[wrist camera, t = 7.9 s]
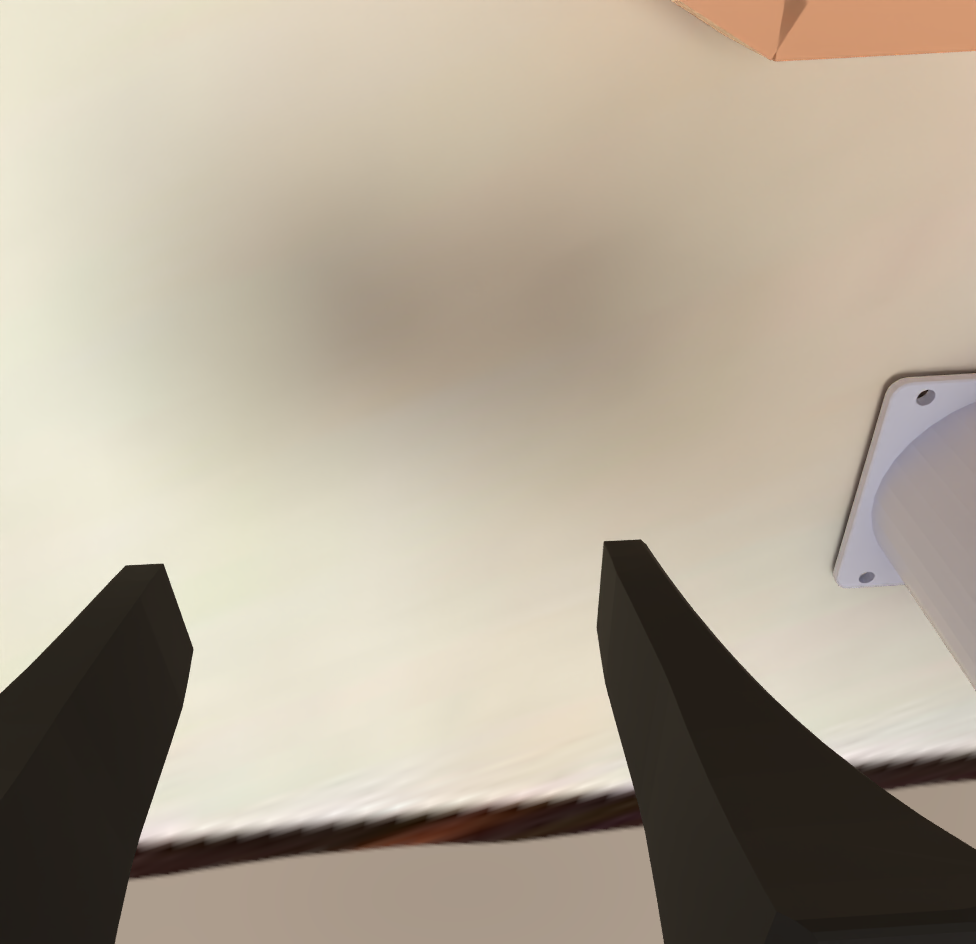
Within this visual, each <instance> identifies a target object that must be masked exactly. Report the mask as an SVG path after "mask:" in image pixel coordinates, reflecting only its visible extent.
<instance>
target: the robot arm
mask: <svg viewBox="0 0 976 944" xmlns="http://www.w3.org/2000/svg"><path fill="white" fill-rule="evenodd" d="M925 390H928V391H927V393H926V394H925V395H924V396H923V397H921V398H917V397H918V395H919V394H920V393H921V392H923V391H925ZM916 398H917V399H916ZM865 572H867V573H865ZM863 573H865V574H863ZM862 574H863V575H862ZM833 577H834V579H835V581H836V582H837V584H838V585H839V586H840V587H842V588H860V587H876V586H891V585H906V586H907V588H908V590H909V591H910V593H911V594H912V596H913V597H914V599H915V600H916V602H917V603H918V605H919V606H920V608H921V609H922V611H923V612H924V614H925V615H926V617H927V618H928V620H929V621H930V623H931V624H932V626H933V627H934V629H935V630H936V632H937V633H938V635H939V636H940V638H941V639H942V641H943V642H944V644H945V645H946V647H947V648H948V650H949V651H950V653H951V654H952V656H953V657H954V659H955V660H956V662H957V663H958V665H959V666H960V668H961V669H962V671H963V672H964V674H965V675H966V677H967V678H968V680H969V681H970V683H971V684H972V686H973V687H974V689H975V690H976V373H970V374H954V375H937V376H920V377H906V378H902V379H899V380H897V381H895V382H894V383H893V384H892V385H891V386H890V387H889V388H888V390H887V391H886V393H885V397H884V400H883V404H882V407H881V410H880V414H879V417H878V421H877V424H876V427H875V431H874V434H873V438H872V441H871V445H870V448H869V451H868V455H867V458H866V462H865V465H864V468H863V472H862V475H861V479H860V482H859V486H858V489H857V492H856V496H855V499H854V503H853V506H852V509H851V513H850V516H849V520H848V523H847V527H846V530H845V533H844V537H843V540H842V544H841V547H840V550H839V554H838V557H837V561H836V564H835V568H834V571H833ZM597 634H598V640H599V647H600V654H601V660H602V667H603V673H604V679H605V684H606V688H607V692H608V696H609V699H610V703H611V707H612V710H613V714H614V718H615V721H616V725H617V729H618V732H619V736H620V739H621V743H622V747H623V750H624V754H625V757H626V761H627V765H628V768H629V772H630V775H631V779H632V783H633V786H634V790H635V793H636V797H637V801H638V804H639V808H640V812H641V817H642V821H643V825H644V830H645V834H646V840H647V845H648V851H649V857H650V862H651V867H652V873H653V879H654V885H655V891H656V896H657V902H658V909H659V914H660V921H661V927H662V933H663V939H664V944H976V849H974V848H972V847H971V846H969V845H968V844H966V843H964V842H963V841H961V840H960V839H958V838H956V837H955V836H953V835H951V834H950V833H948V832H947V831H945V830H943V829H942V828H940V827H939V826H937V825H935V824H934V823H932V822H931V821H929V820H927V819H926V818H924V817H923V816H921V815H920V814H918V813H917V812H915V811H914V810H912V809H911V808H910V807H908V806H907V805H905V804H904V803H902V802H901V801H899V800H898V799H896V798H895V797H894V796H892V795H891V794H889V793H888V792H887V791H885V790H884V789H882V788H881V787H879V786H878V785H877V784H875V783H874V782H873V781H872V780H870V779H869V778H868V777H866V776H865V775H864V774H863V773H861V772H860V771H859V770H857V769H856V768H855V767H854V766H852V765H851V764H850V763H848V762H847V761H846V760H845V759H843V758H842V757H841V756H839V755H838V754H837V753H836V752H834V751H833V750H832V749H830V748H829V747H828V746H827V745H825V744H824V743H823V742H822V741H821V740H820V739H818V738H817V737H816V736H815V735H814V734H813V733H812V732H810V731H809V730H808V729H807V728H806V727H805V726H804V725H802V724H801V723H800V722H799V721H798V720H797V719H796V718H794V717H793V716H792V715H791V714H790V713H789V712H788V711H787V710H786V709H785V708H784V707H783V706H782V705H781V704H779V703H778V702H777V701H776V700H775V699H774V698H773V697H772V696H771V695H770V694H769V693H768V692H767V691H766V690H765V689H764V688H763V687H762V686H761V685H760V684H759V683H758V682H757V681H756V680H755V679H754V678H753V677H752V676H751V675H750V674H749V673H748V672H747V671H746V669H745V668H744V667H743V666H742V665H741V664H740V663H739V662H738V661H737V660H736V659H735V658H734V657H733V655H732V654H731V653H730V652H729V651H728V650H727V649H726V648H725V646H724V645H723V644H722V643H721V642H720V641H719V640H718V639H717V637H716V636H715V635H714V634H713V633H712V631H711V630H710V629H709V628H708V627H707V625H706V624H705V623H704V622H703V620H702V619H701V618H700V617H699V616H698V614H697V613H696V612H695V611H694V610H693V608H692V607H691V606H690V604H689V603H688V602H687V601H686V599H685V598H684V597H683V595H682V594H681V593H680V591H679V590H678V589H677V587H676V586H675V585H674V584H673V582H672V581H671V579H670V578H669V577H668V575H667V574H666V573H665V571H664V570H663V568H662V567H661V565H660V564H659V563H658V561H657V560H656V558H655V557H654V555H653V554H652V552H651V551H650V549H649V548H648V546H647V545H646V544H645V543H644V542H643V541H642V540H623V541H604V546H603V558H602V570H601V582H600V593H599V605H598V617H597ZM192 655H193V646H192V644H191V641H190V638H189V635H188V632H187V629H186V627H185V624H184V621H183V618H182V615H181V612H180V609H179V607H178V604H177V601H176V598H175V595H174V592H173V590H172V587H171V584H170V581H169V578H168V575H167V572H166V570H165V567H164V564H146V565H127V566H125V567H124V568H123V569H122V570H121V571H120V572H119V573H118V574H117V575H116V576H115V577H114V578H113V579H112V580H111V581H110V582H109V583H108V584H107V585H106V587H105V588H104V589H103V590H102V591H101V592H100V593H99V594H98V595H97V596H96V597H95V598H94V599H93V600H92V601H91V602H90V603H89V605H88V606H87V607H86V608H85V609H84V610H83V611H82V612H81V613H80V614H79V615H78V616H77V617H76V618H75V619H74V620H73V622H72V623H71V624H70V625H69V626H68V627H67V628H66V629H65V630H64V631H63V632H62V633H61V634H60V635H59V636H58V637H57V638H56V639H55V640H54V641H53V642H52V643H51V644H50V645H49V646H48V647H47V648H46V650H45V651H44V652H43V653H42V654H41V655H40V656H39V657H38V658H37V659H36V660H35V661H34V662H33V663H32V664H31V665H30V666H29V667H28V668H27V669H26V670H25V671H24V672H23V673H21V674H20V675H19V676H18V677H17V678H16V679H15V680H14V681H13V682H12V683H11V684H10V685H9V686H8V687H7V688H6V689H5V690H4V691H2V692H1V693H0V944H115V939H116V934H117V928H118V924H119V920H120V915H121V911H122V907H123V902H124V897H125V893H126V889H127V884H128V880H129V875H130V871H131V866H132V862H133V859H134V856H135V852H136V849H137V845H138V842H139V838H140V835H141V832H142V829H143V826H144V823H145V820H146V817H147V814H148V811H149V808H150V805H151V802H152V799H153V796H154V793H155V790H156V787H157V784H158V781H159V778H160V775H161V772H162V769H163V766H164V763H165V760H166V757H167V754H168V751H169V748H170V745H171V742H172V739H173V736H174V733H175V729H176V726H177V723H178V720H179V717H180V714H181V711H182V707H183V703H184V698H185V693H186V688H187V683H188V678H189V672H190V666H191V660H192Z"/></svg>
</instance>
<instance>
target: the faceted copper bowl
mask: <svg viewBox="0 0 976 944" xmlns="http://www.w3.org/2000/svg"><path fill="white" fill-rule="evenodd" d="M671 1H672V2H674V3H675V4H677V5H679V6H680V7H682V8H683V9H685V10H686V11H688V12H689V13H691V14H692V15H694V16H695V17H697V18H698V19H700V20H701V21H703V22H705V23H706V24H708V25H709V26H711V27H712V28H714V29H715V30H717V31H718V32H720V33H721V34H723V35H725V36H727V37H729V38H730V39H732V40H734V41H736V42H738V43H740V44H742V45H743V46H745V47H747V48H749V49H751V50H753V51H755V52H756V53H758V54H760V55H762V56H764V57H766V58H768V59H769V60H771V59H772V60H773V61H792V60H811V59H830V58H849V57H867V56H886V55H905V54H924V53H943V52H962V51H976V0H671Z"/></svg>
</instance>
